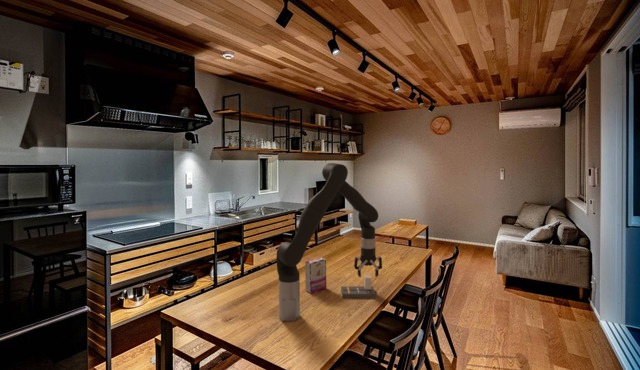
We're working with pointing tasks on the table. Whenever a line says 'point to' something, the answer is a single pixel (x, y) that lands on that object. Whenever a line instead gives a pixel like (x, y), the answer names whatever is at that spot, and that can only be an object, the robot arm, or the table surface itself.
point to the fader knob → (367, 282)
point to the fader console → (357, 292)
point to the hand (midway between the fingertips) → (368, 276)
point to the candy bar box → (315, 274)
